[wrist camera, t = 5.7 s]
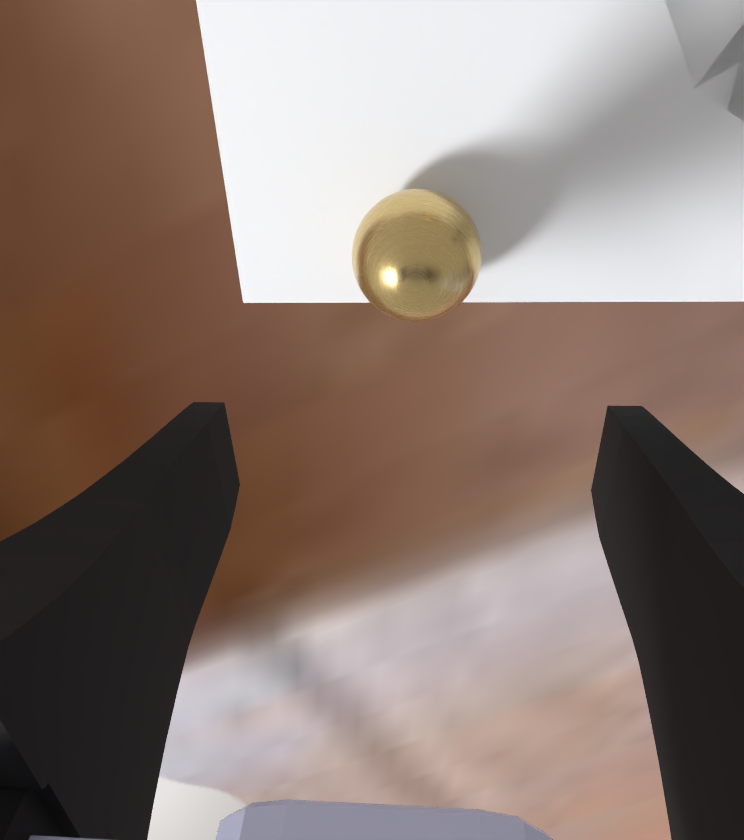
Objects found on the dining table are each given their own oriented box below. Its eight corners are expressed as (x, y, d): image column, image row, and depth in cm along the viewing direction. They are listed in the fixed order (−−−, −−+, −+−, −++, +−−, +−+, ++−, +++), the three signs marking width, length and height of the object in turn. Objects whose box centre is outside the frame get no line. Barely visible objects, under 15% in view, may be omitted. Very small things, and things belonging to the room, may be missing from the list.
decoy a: (481, 170, 17) (490, 213, 15) (474, 289, 19) (481, 345, 17) (354, 173, 18) (341, 215, 15) (360, 289, 19) (349, 344, 17)
